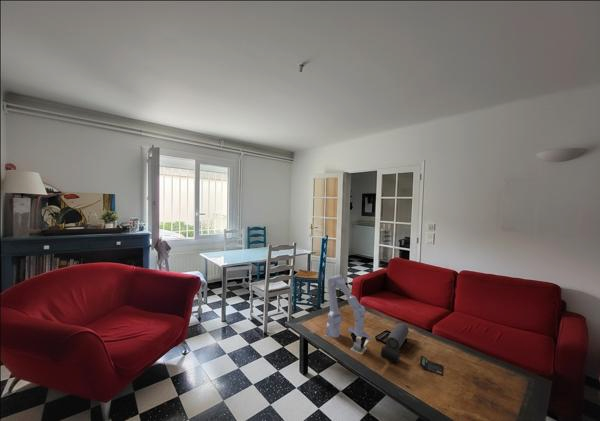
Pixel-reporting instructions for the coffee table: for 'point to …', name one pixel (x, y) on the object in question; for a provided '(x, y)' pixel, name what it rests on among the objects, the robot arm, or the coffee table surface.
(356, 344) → the block
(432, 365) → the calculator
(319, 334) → the coffee table surface
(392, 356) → the end cap
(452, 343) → the coffee table surface
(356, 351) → the stand
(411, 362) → the coffee table surface
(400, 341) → the bluetooth speaker
